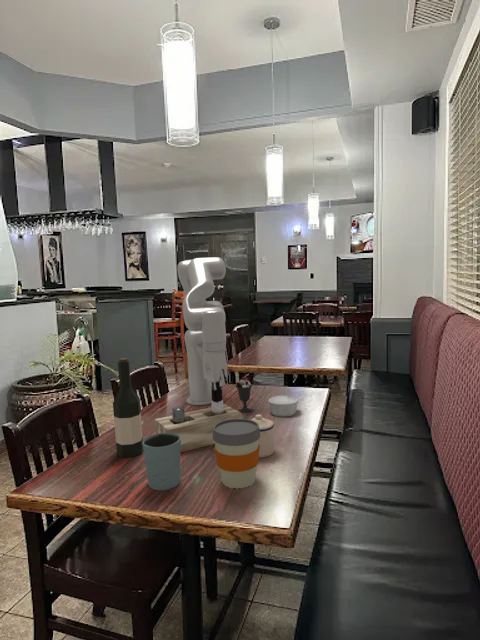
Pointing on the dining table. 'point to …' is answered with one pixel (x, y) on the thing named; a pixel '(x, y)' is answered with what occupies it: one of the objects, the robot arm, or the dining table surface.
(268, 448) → the teacup with lid
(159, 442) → the blue cup
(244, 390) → the sundae
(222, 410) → the steel peg
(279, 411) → the ramekin
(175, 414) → the graphite peg
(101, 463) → the dining table surface
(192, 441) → the birch block
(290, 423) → the dining table surface
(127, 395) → the wine bottle
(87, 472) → the dining table surface
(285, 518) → the dining table surface
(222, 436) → the reusable coffee cup
